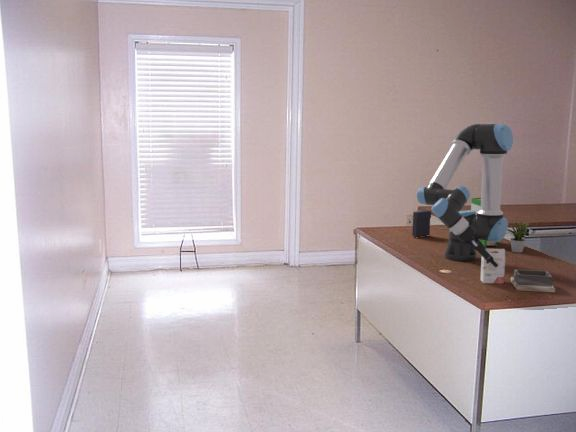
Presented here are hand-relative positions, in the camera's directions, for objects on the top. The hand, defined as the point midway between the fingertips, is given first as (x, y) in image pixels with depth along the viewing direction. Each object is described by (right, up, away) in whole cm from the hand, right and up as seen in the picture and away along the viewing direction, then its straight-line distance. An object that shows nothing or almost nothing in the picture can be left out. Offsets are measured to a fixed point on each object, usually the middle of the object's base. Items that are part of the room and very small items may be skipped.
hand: (500, 268), depth 224 cm
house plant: (+31, +3, +55) cm, 63 cm away
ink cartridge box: (-3, -6, +2) cm, 7 cm away
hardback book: (+19, +6, +73) cm, 75 cm away
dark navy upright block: (-11, +9, +90) cm, 91 cm away
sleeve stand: (+11, -7, -4) cm, 14 cm away
